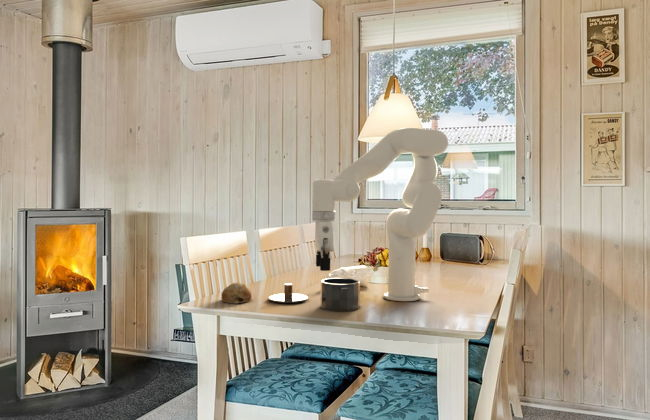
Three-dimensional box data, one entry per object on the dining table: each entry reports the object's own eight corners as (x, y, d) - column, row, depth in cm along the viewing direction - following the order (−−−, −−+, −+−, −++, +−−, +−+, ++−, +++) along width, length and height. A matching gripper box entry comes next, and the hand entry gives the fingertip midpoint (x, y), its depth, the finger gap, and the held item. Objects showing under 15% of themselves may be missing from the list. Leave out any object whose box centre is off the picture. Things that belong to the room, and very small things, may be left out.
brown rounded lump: (224, 314, 174) (227, 294, 171) (216, 296, 182) (219, 277, 179) (252, 311, 178) (256, 292, 175) (244, 294, 186) (247, 275, 183)
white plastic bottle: (320, 288, 203) (320, 268, 203) (358, 283, 214) (358, 264, 214) (332, 291, 197) (332, 270, 197) (371, 286, 208) (371, 266, 207)
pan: (353, 300, 180) (353, 276, 180) (364, 312, 162) (364, 285, 162) (318, 301, 178) (318, 276, 178) (324, 313, 161) (324, 286, 161)
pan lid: (305, 296, 188) (305, 280, 188) (309, 304, 174) (309, 287, 174) (268, 296, 186) (268, 281, 186) (269, 304, 173) (269, 288, 173)
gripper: (339, 218, 165) (338, 272, 165) (330, 215, 182) (329, 264, 182) (315, 217, 163) (315, 272, 164) (309, 215, 180) (308, 264, 181)
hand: (322, 268), depth 173 cm, fingers open, 9 cm apart
